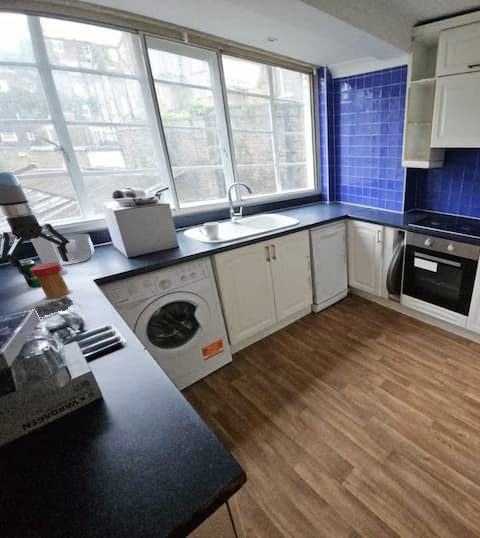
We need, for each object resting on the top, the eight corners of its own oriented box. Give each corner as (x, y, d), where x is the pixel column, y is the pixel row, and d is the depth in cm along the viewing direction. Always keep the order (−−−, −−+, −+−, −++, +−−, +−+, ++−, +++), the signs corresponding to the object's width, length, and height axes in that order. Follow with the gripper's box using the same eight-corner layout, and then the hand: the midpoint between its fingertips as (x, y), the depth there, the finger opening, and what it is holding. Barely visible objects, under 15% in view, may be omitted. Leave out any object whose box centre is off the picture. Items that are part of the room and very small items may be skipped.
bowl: (100, 250, 177) (93, 232, 172) (94, 260, 162) (86, 240, 157) (56, 257, 168) (47, 237, 163) (45, 268, 152) (34, 246, 148)
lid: (65, 270, 122) (62, 263, 121) (39, 278, 115) (36, 271, 114) (55, 267, 125) (52, 261, 124) (29, 275, 118) (25, 268, 117)
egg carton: (38, 321, 105) (33, 311, 104) (33, 315, 109) (28, 305, 108) (76, 308, 113) (72, 298, 112) (70, 302, 117) (66, 293, 115)
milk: (49, 277, 141) (27, 233, 132) (48, 274, 145) (26, 231, 136) (66, 273, 145) (45, 230, 136) (64, 270, 149) (45, 228, 140)
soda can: (45, 282, 136) (33, 258, 131) (45, 285, 133) (33, 261, 128) (29, 286, 133) (17, 261, 128) (29, 289, 129) (16, 264, 125)
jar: (45, 300, 119) (31, 272, 114) (48, 294, 124) (35, 267, 120) (68, 295, 123) (55, 268, 118) (70, 289, 128) (58, 263, 123)
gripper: (56, 208, 122) (77, 255, 131) (-35, 222, 101) (-3, 278, 110) (66, 209, 120) (86, 257, 128) (-25, 224, 99) (7, 280, 107)
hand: (45, 267), depth 119 cm, fingers open, 13 cm apart
